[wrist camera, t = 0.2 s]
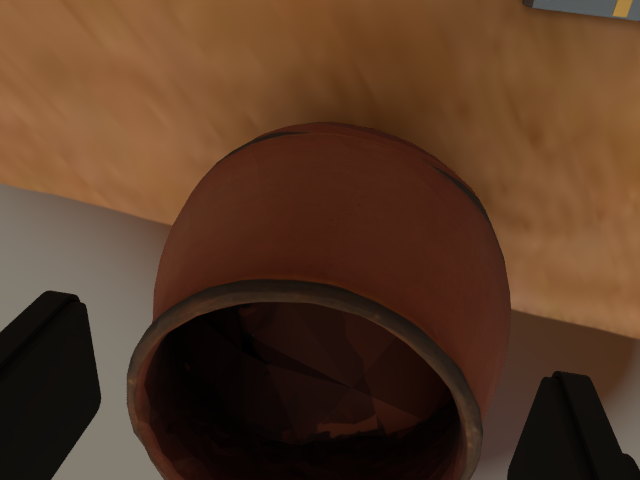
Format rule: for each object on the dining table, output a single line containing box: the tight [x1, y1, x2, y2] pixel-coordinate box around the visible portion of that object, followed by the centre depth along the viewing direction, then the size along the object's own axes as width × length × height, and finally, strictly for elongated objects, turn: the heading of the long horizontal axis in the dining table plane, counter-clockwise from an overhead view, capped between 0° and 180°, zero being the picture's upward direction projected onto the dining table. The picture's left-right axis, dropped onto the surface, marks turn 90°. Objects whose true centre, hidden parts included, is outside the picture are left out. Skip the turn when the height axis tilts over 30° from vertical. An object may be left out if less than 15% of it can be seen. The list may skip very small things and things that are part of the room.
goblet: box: [127, 122, 511, 480], centre depth 31 cm, size 19×19×25 cm
